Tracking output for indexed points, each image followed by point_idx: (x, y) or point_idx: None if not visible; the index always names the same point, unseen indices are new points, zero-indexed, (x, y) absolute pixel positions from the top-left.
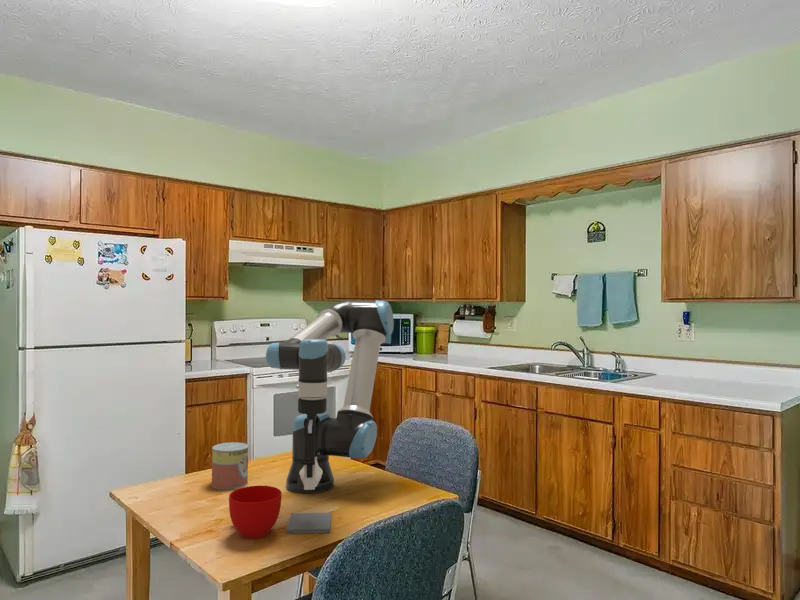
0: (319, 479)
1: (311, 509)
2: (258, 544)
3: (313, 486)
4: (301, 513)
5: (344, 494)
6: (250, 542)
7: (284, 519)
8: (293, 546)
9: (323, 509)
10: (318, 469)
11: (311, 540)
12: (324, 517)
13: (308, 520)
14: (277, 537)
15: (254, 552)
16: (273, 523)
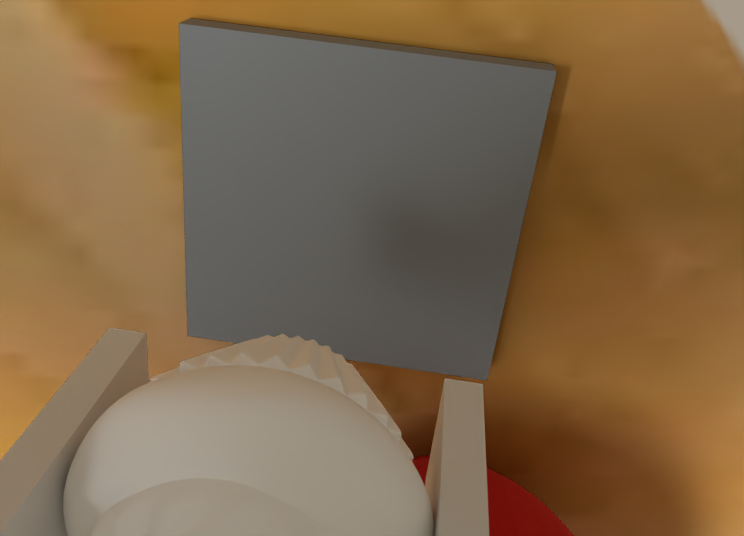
0: (337, 374)
1: (40, 176)
2: (608, 501)
3: (481, 422)
4: (192, 270)
5: None
6: None
7: None
8: (714, 333)
9: (31, 78)
10: (300, 505)
11: (655, 214)
12: (287, 98)
13: (340, 230)
14: (534, 411)
15: (714, 521)
16: (527, 496)
